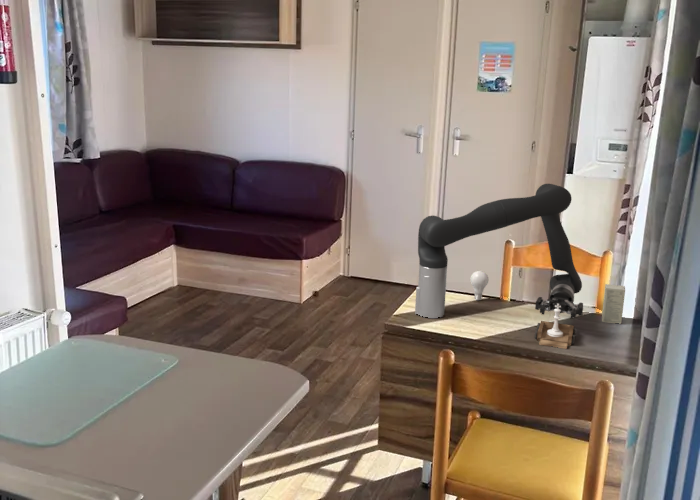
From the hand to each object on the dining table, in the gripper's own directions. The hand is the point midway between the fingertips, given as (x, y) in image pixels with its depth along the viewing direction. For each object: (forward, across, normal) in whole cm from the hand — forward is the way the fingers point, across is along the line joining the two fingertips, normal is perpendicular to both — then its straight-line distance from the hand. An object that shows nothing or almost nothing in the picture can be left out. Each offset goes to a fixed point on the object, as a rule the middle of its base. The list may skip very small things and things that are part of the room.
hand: (557, 313), depth 208 cm
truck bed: (0, 0, +8) cm, 9 cm away
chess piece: (-2, 0, +8) cm, 8 cm away
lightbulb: (-27, -29, +9) cm, 41 cm away
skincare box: (-25, +16, +9) cm, 31 cm away
